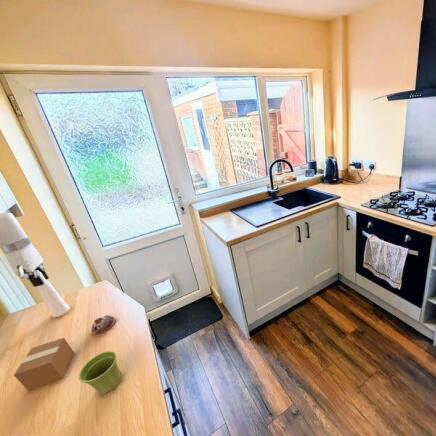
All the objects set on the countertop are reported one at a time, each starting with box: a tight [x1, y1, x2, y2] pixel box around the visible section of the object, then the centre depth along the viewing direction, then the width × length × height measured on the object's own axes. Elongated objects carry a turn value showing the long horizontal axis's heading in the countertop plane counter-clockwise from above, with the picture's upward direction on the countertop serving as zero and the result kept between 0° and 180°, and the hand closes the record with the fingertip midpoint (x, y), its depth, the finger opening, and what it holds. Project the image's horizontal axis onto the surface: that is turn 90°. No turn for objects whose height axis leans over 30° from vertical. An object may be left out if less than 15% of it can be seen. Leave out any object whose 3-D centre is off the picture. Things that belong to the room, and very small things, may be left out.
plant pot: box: [77, 350, 122, 395], centre depth 74 cm, size 9×9×9 cm
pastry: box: [91, 314, 116, 335], centre depth 97 cm, size 8×8×5 cm
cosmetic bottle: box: [30, 270, 71, 318], centre depth 104 cm, size 6×6×22 cm
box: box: [13, 337, 75, 392], centre depth 80 cm, size 9×10×8 cm
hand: (41, 282), depth 101 cm, fingers closed on cosmetic bottle, 3 cm apart
